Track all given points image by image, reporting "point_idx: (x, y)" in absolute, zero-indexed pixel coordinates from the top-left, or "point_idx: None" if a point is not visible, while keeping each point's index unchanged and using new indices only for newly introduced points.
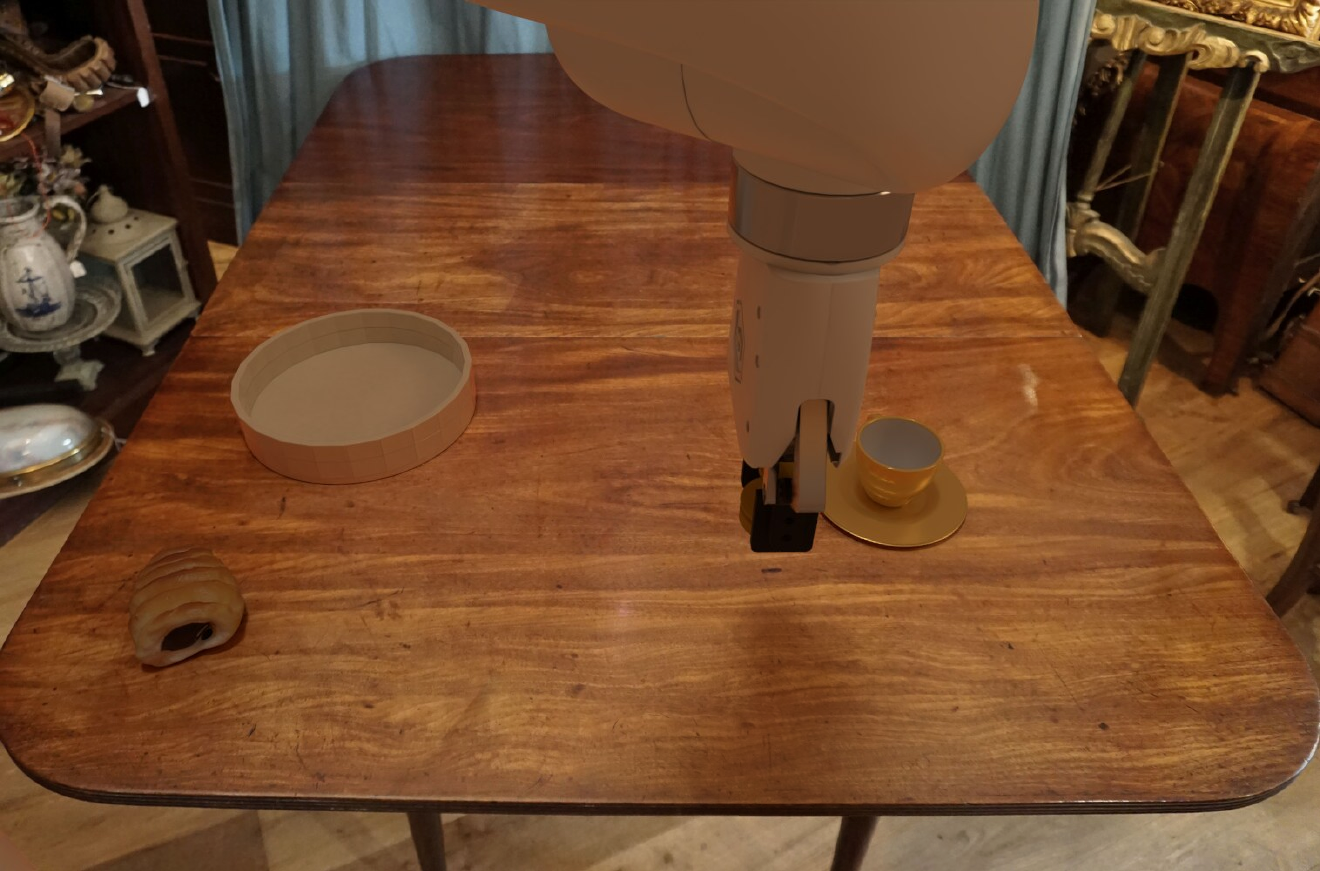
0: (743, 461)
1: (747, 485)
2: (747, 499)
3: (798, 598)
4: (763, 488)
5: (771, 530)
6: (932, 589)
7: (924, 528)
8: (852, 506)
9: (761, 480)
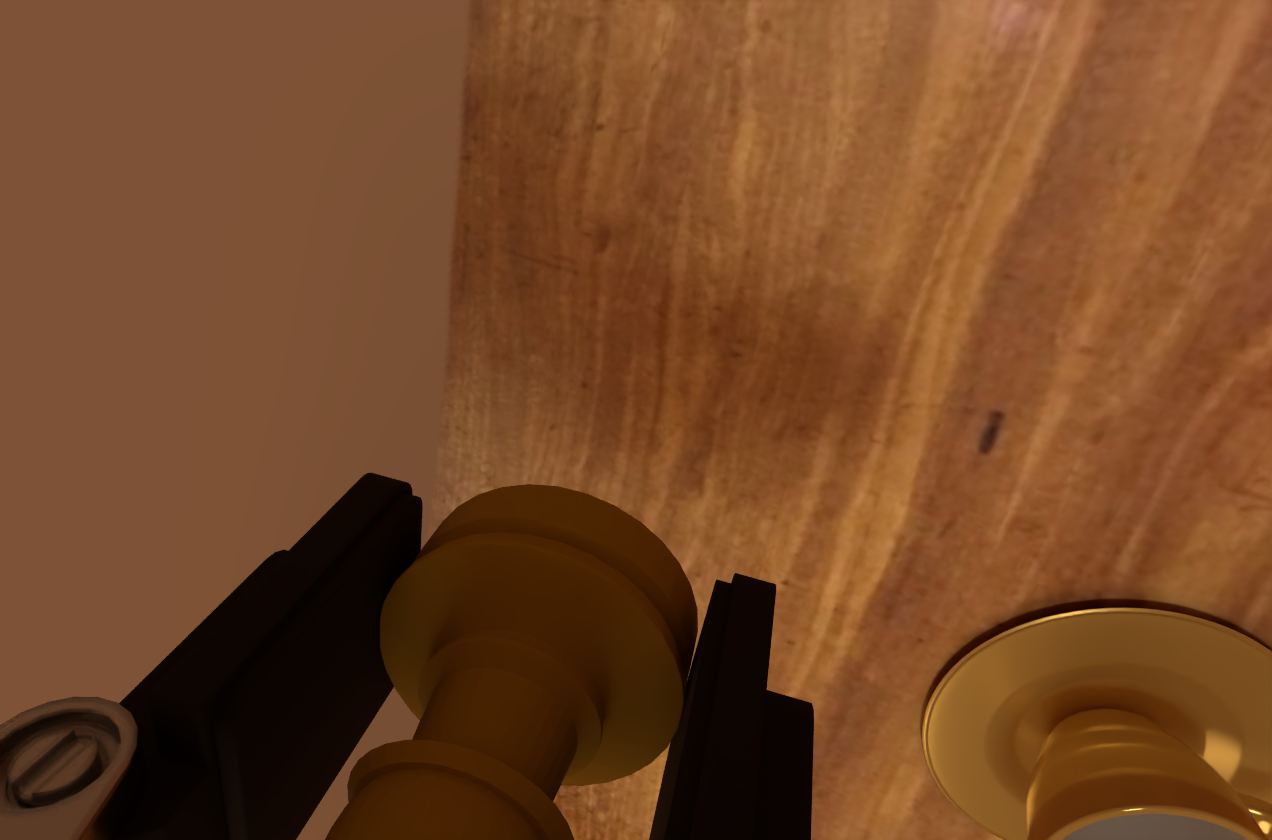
0: (735, 678)
1: (633, 613)
2: (529, 581)
3: (886, 454)
4: (115, 759)
5: (224, 608)
6: (820, 677)
7: (963, 745)
8: (1094, 667)
9: (638, 677)
